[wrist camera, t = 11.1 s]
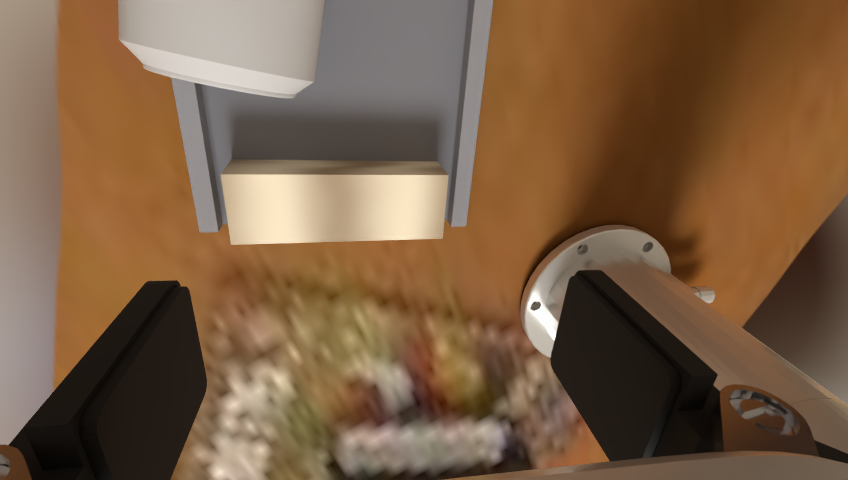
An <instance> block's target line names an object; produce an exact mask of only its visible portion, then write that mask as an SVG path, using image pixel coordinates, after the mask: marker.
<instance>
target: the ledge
mask: <svg viewBox="0 0 848 480" xmlns="http://www.w3.org/2000/svg"><path fill="white" fill-rule="evenodd" d="M448 177H449V175H448V174H447V173H446V171H445V170H444V169H443V168H442V166H441V165H440V164H439V163H438V162H437V161H344V160H247V159H232V160H231V161H230V162H229V164H228V165H227V166H226V168H225V169H224V170H223V172H222V173H221V180H222V187H223V194H224V200H225V207H226V214H227V220H228V227H229V234H230V240H231V245H237V244H271V243H305V242H339V241H373V240H407V239H441V238H443V229H444V218H445V208H446V198H447V187H448Z"/></svg>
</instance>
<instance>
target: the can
mask: <svg viewBox="0 0 848 480" xmlns="http://www.w3.org/2000/svg"><path fill="white" fill-rule="evenodd" d="M324 4H325V0H118V8H119V40H120V41H121V42H122V43H123V44H124V45H125V46H126V47H127V48H128V49H129V50H130V51H131V52H132V53H133V54H134V55H135V56H136V57H137V58H138V59H139V60H140V61H141V62H142V63H143V67H144V68H145V69H146V70H149V71H152V72H154V73H158V74H161V75H165V76H169V77H172V78H177V79H181V80H185V81H189V82H194V83H198V84H203V85H208V86H213V87H218V88H223V89H228V90H234V91H239V92H245V93H251V94H257V95H263V96H270V97H278V98H295V97H296V94H297V93H298V92H300V91H301V90H303V89H304V88H306V87H307V86H309V85H310V84H312V83H313V82H315V76H316V68H317V60H318V52H319V44H320V36H321V28H322V20H323V12H324Z"/></svg>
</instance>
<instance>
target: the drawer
mask: <svg viewBox="0 0 848 480" xmlns="http://www.w3.org/2000/svg"><path fill="white" fill-rule="evenodd" d="M492 7H493V0H325V4H324V12H323V20H322V28H321V36H320V44H319V52H318V60H317V68H316V76H315V82H313V83H312V84H310V85H309V86H307V87H306V88H304V89H303V90H301V91H300V92H298V93H297V94H296V97H295V98H278V97H270V96H263V95H257V94H251V93H245V92H239V91H234V90H228V89H223V88H218V87H213V86H208V85H203V84H198V83H194V82H189V81H185V80H181V79H177V78H172V77H171V79H172V84H173V90H174V95H175V101H176V106H177V112H178V117H179V122H180V128H181V133H182V139H183V144H184V150H185V155H186V160H187V166H188V171H189V177H190V182H191V188H192V193H193V199H194V204H195V209H196V215H197V220H198V226H199V231H200V232H219V230H220V228H221V226H222V225H223V224H228V220H227V214H226V207H225V200H224V194H223V187H222V180H221V173H222V172H223V170H224V169H225V168H226V166H227V165H228V164H229V162H230V161H231V160H232V159H247V160H344V161H437V162H438V163H439V164H440V165H441V166H442V168H443V169H444V170H445V171H446V173H447V174H448V175H449V177H448V187H447V198H446V208H445V218H444V220H447V221H448V222H449V224H450V225H451V227H454V226H466V222H467V213H468V205H469V197H470V189H471V180H472V172H473V164H474V156H475V147H476V139H477V131H478V123H479V114H480V106H481V98H482V90H483V81H484V73H485V65H486V57H487V48H488V40H489V32H490V24H491V15H492Z"/></svg>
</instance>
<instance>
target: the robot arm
mask: <svg viewBox="0 0 848 480" xmlns="http://www.w3.org/2000/svg"><path fill="white" fill-rule="evenodd" d="M714 298H715V294H714V291H713V290H712V289H711V287H708V286H697V287H689V286H687V285H686V284H684V283H683V282H682V281H680V280H679V279H677V278H676V277H675V276H673V275H672V274H671V266H670V261H669V257H668V255H667V253H666V251H665V249H664V248H663V247H662V245H661V244H660V243H659V242H658V241H657V240H656V239H654V238H653V237H651V236H650V235H648V234H647V233H645V232H643V231H641V230H639V229H637V228H635V227H630V226H625V225H605V226H600V227H595V228H591V229H589V230H586V231H584V232H581V233H578V234H576V235H575V236H573V237H571V238H569V239H568V240H566V241H564V242H563V243H561V244H560V245H559V246H558V247H556V248H555V249H554V250H553V251H551V252H550V253H549V254H548V255H547V256H546V257H545V258H544V259H543V261H542V262H541V263H540V264H539V265H538V266H537V268H536V269H535V271H534V272H533V274H532V275H531V277H530V279H529V281H528V283H527V285H526V287H525V290H524V293H523V297H522V301H521V313H520V316H521V321H522V326H523V329H524V331H525V333H526V335H527V337H528V338H529V339H530V341H531V342H532V344H533V345H534V347H535V348H536V349H538V350H539V351H540V352H541V353H542V354H544V355H546V356H547V357H549V358H551V366H552V369H553V371H554V373H555V374H556V376H557V377H558V379H559V381H560V382H561V384H562V385H563V387H564V389H565V390H566V392H567V393H568V395H569V397H570V398H571V400H572V401H573V403H574V405H575V406H576V408H577V409H578V411H579V412H580V414H581V416H582V417H583V419H584V420H585V422H586V424H587V425H588V427H589V428H590V430H591V432H592V433H593V435H594V436H595V438H596V440H597V441H598V443H599V444H600V446H601V448H602V449H603V451H604V452H605V454H606V456H607V457H608V459H609V460H610V462H602V463H592V464H583V465H573V466H564V467H554V468H545V469H535V470H526V471H517V472H508V473H499V474H490V475H481V476H472V477H463V478H454V479H445V480H848V404H846V403H844V402H843V401H841V400H840V399H839V398H837V397H836V396H834V395H833V394H832V393H830V392H829V391H827V390H826V389H825V388H823V387H822V386H820V385H819V384H818V383H817V382H815V381H814V380H812V379H811V378H809V377H808V376H807V375H806V374H804V373H803V372H801V371H800V370H799V369H797V368H796V367H794V366H793V365H792V364H790V363H789V362H788V361H786V360H785V359H783V358H782V357H781V356H779V355H778V354H777V353H775V352H774V351H772V350H771V349H770V348H768V347H767V346H765V345H764V344H763V343H761V342H760V341H759V340H757V339H756V338H754V337H753V336H752V335H750V334H749V333H748V332H746V331H745V330H743V329H742V328H741V327H739V326H738V325H736V324H735V323H734V322H732V321H731V320H730V319H728V318H727V317H725V316H724V315H723V314H721V313H720V312H719V311H717V310H716V309H714V308H713V307H712V306H710V305H709V304H708V303H712V302H713V300H714ZM206 387H207V378H206V372H205V367H204V362H203V357H202V352H201V347H200V342H199V337H198V332H197V327H196V322H195V317H194V312H193V307H192V301H191V296H190V292H189V289H188V288H187V287H181V285H180V284H179V282H178V281H148V282H146V283H145V284H144V285H143V287H142V288H141V289H140V290H139V291H138V292H137V294H136V295H135V296H134V297H133V298H132V300H131V301H130V302H129V303H128V304H127V305H126V307H125V308H124V309H123V310H122V311H121V313H120V314H119V315H118V316H117V317H116V318H115V320H114V321H113V322H112V323H111V324H110V326H109V327H108V328H107V329H106V330H105V331H104V333H103V334H102V335H101V336H100V337H99V339H98V340H97V341H96V342H95V343H94V345H93V346H92V347H91V348H90V349H89V350H88V352H87V353H86V354H85V355H84V356H83V358H82V359H81V360H80V361H79V362H78V363H77V365H76V366H75V367H74V368H73V369H72V371H71V372H70V373H69V374H68V375H67V376H66V378H65V379H64V380H63V381H62V382H61V384H60V385H59V386H58V387H57V388H56V389H55V391H54V392H53V393H52V394H51V395H50V397H49V398H48V399H47V400H46V401H45V403H44V404H43V405H42V406H41V407H40V408H39V410H38V411H37V412H36V413H35V414H34V416H33V417H32V418H31V419H30V420H29V421H28V423H27V424H26V425H25V426H24V427H23V429H22V430H21V431H20V432H19V434H18V435H17V436H16V437H15V438H14V439H13V441H12V442H11V443H10V444H9V445H0V480H170V479H171V476H172V474H173V471H174V469H175V466H176V464H177V462H178V459H179V457H180V454H181V452H182V449H183V447H184V444H185V442H186V440H187V437H188V435H189V432H190V430H191V427H192V425H193V422H194V420H195V417H196V415H197V413H198V410H199V408H200V405H201V403H202V400H203V398H204V395H205V392H206Z"/></svg>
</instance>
